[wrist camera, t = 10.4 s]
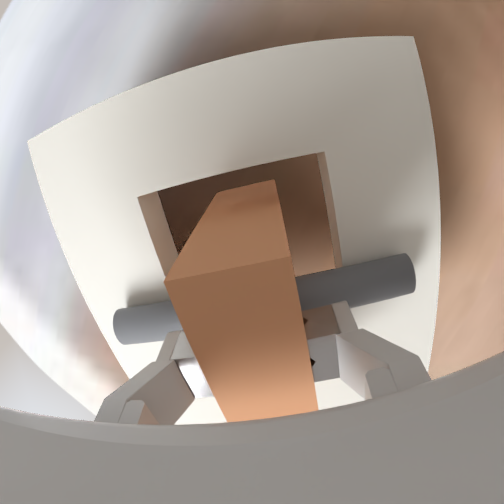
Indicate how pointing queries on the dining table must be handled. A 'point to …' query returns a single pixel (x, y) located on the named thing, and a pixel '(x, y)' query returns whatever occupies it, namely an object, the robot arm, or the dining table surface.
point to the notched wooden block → (244, 306)
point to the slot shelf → (246, 155)
